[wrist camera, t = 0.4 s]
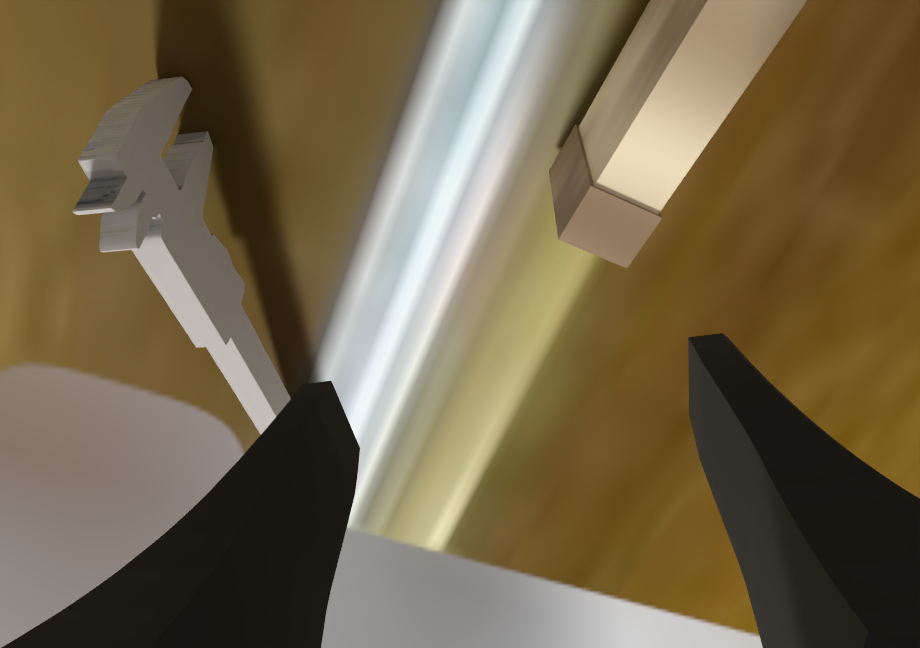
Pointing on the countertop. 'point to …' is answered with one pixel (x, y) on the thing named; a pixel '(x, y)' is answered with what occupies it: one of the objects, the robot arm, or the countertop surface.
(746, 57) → the gate
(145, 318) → the countertop surface
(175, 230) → the caliper
